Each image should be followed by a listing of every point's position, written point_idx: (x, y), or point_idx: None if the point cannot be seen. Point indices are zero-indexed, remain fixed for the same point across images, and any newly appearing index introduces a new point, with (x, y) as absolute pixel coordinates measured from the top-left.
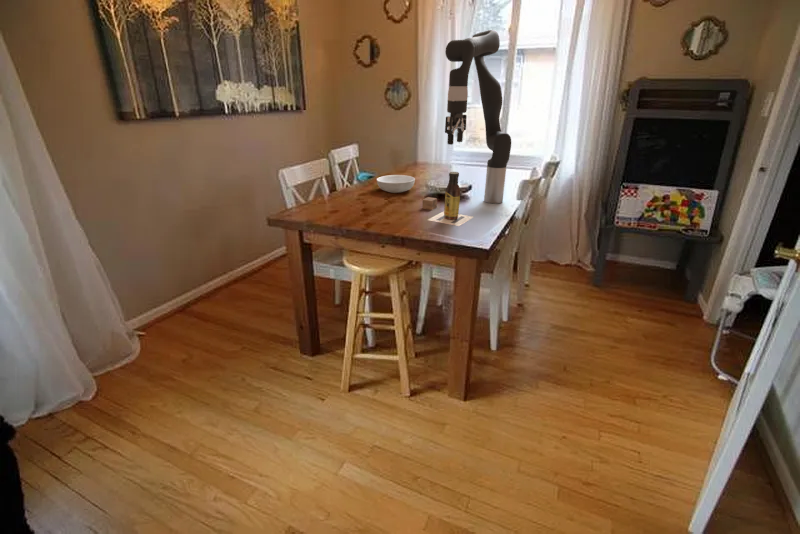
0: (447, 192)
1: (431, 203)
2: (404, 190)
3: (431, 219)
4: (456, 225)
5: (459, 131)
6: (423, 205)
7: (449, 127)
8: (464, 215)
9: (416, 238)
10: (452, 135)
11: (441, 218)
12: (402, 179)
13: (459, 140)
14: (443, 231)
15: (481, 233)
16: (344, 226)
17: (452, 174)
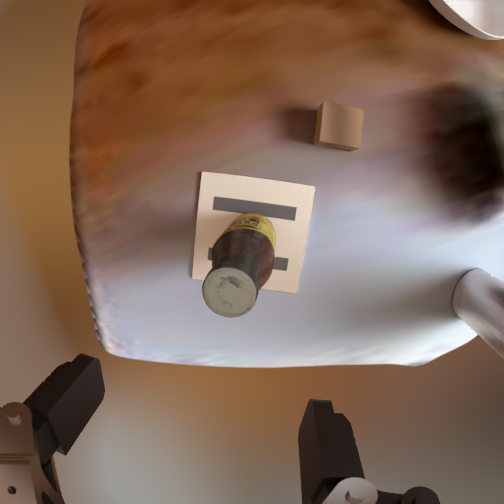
0: (213, 245)
1: (318, 139)
2: (447, 19)
3: (212, 181)
4: (193, 270)
5: (323, 501)
6: (319, 110)
7: (4, 471)
8: (299, 264)
9: (77, 207)
10: (51, 440)
11: (236, 207)
12: (500, 9)
13: (304, 426)
14: (144, 248)
15: (180, 336)
16: (89, 24)
17: (203, 290)
